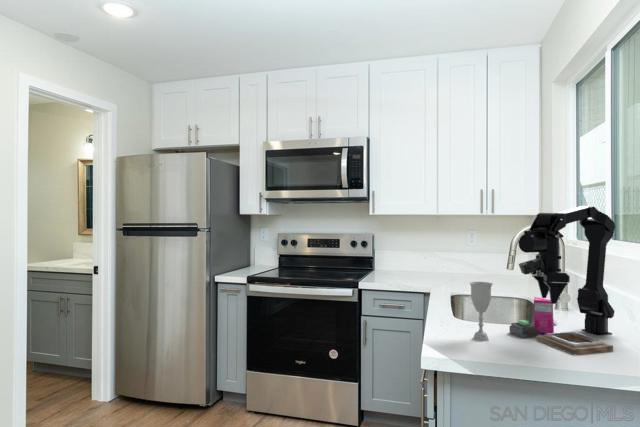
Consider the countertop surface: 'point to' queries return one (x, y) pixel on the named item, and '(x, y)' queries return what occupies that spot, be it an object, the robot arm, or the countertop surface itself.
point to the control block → (523, 330)
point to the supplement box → (543, 315)
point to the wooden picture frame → (584, 347)
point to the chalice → (481, 305)
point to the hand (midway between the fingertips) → (548, 300)
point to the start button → (523, 322)
